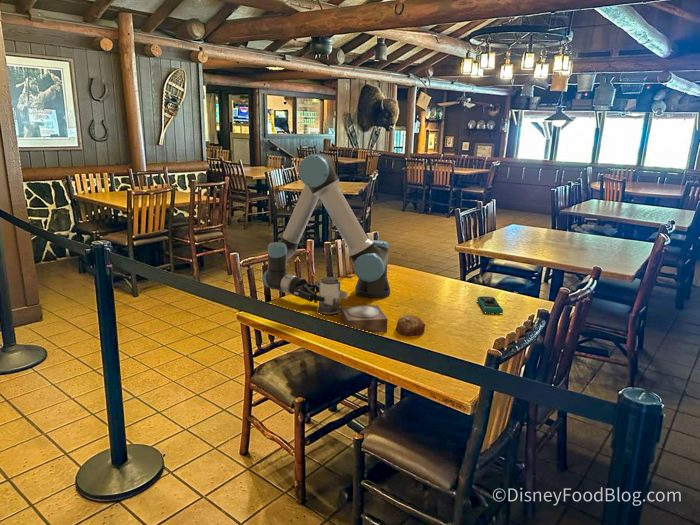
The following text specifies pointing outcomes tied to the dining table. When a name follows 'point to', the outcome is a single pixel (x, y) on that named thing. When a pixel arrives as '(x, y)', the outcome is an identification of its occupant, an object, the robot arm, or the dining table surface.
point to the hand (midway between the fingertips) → (339, 298)
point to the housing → (331, 289)
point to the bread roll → (410, 326)
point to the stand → (364, 318)
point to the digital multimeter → (489, 304)
